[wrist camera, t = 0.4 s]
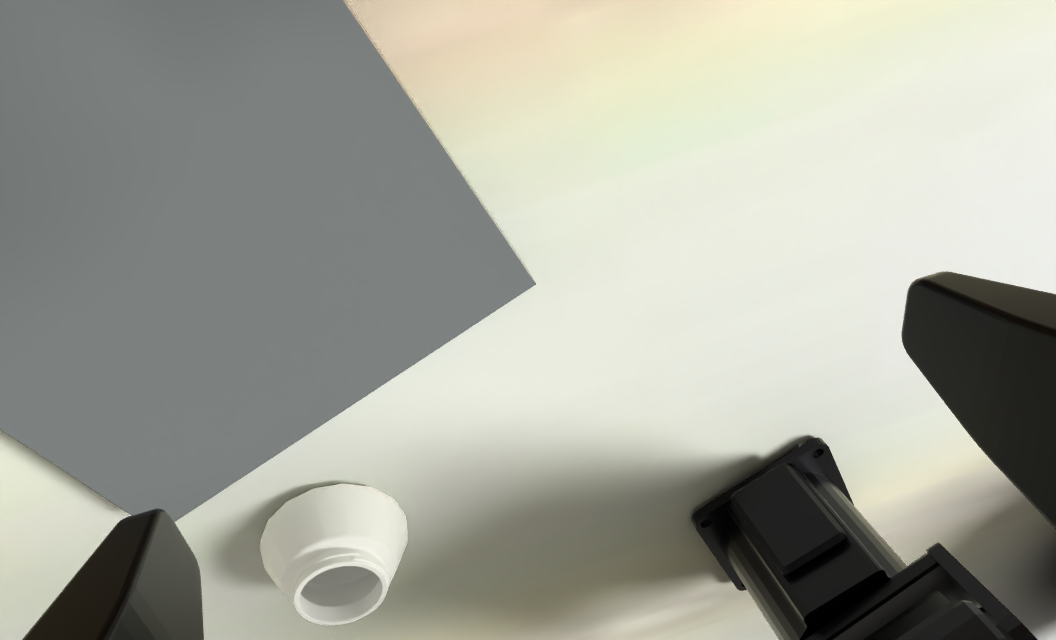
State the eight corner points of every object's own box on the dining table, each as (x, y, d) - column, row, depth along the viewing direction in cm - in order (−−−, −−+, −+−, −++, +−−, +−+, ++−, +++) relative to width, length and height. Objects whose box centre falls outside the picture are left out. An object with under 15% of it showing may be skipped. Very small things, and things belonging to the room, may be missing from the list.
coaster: (525, 265, 24) (536, 284, 23) (162, 505, 24) (158, 532, 23) (197, -217, 15) (193, -221, 14) (-329, 166, 16) (-367, 187, 15)
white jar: (379, 581, 29) (423, 485, 27) (389, 647, 27) (438, 546, 25) (245, 572, 27) (283, 467, 25) (243, 643, 25) (285, 532, 23)
